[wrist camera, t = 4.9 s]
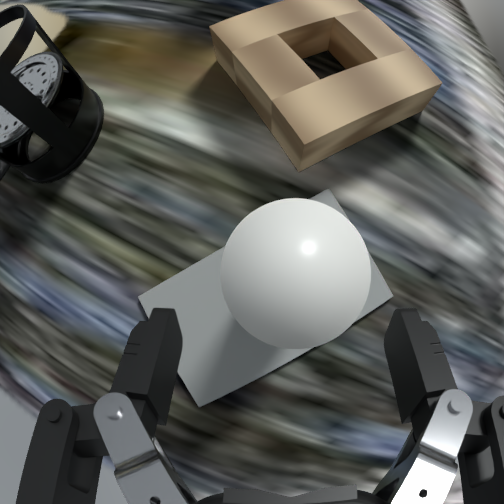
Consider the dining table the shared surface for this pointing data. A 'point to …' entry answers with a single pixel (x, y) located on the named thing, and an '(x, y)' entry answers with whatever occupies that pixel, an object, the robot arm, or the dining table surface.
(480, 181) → the dining table surface
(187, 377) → the mat
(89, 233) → the dining table surface
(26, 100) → the french press
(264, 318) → the peg
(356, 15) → the socket block
